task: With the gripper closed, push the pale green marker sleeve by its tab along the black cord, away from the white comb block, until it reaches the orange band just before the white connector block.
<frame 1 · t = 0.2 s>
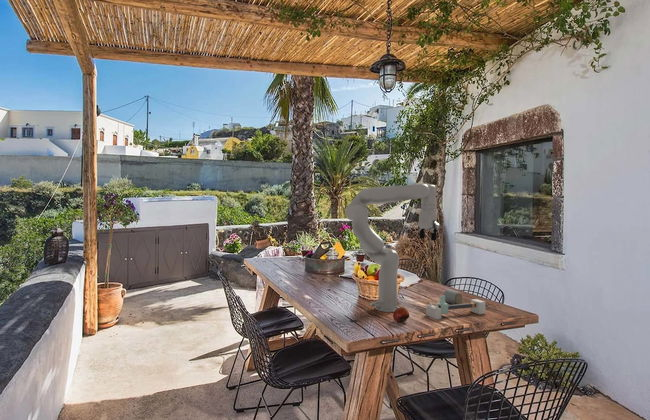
hand: (427, 239, 210), 36 cm above the table, tool pointing down, fingers open, 9 cm apart
marker sleeve: (442, 304, 192), point 6 cm above the table, slide at 0.0 cm
pomegranate: (401, 323, 181), on the table
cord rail: (457, 314, 196), on the table
ceramic mug: (453, 303, 218), on the table
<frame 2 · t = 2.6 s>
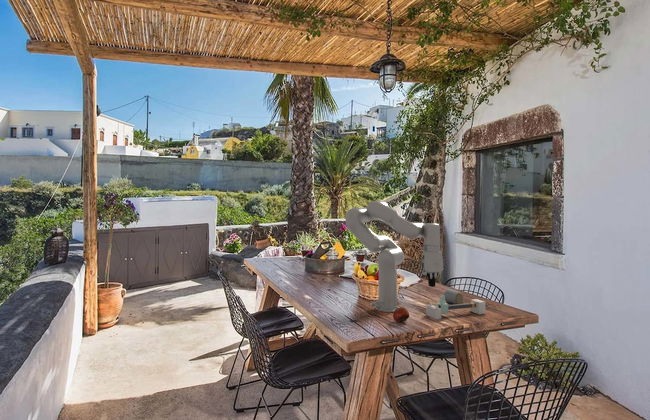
hand: (431, 286, 189), 15 cm above the table, tool pointing down, fingers closed
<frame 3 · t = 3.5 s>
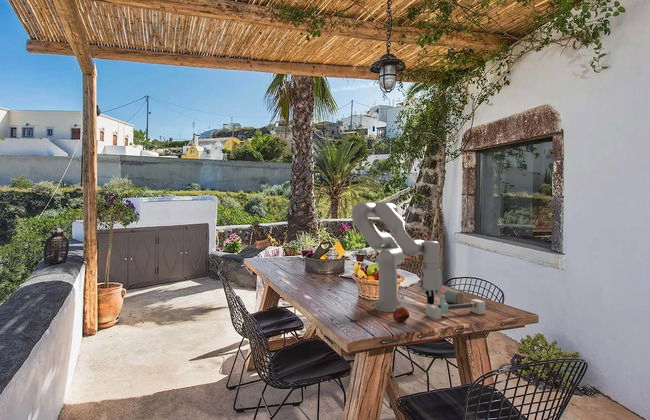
hand: (430, 303, 190), 7 cm above the table, tool pointing down, fingers closed
nothing on the table moved.
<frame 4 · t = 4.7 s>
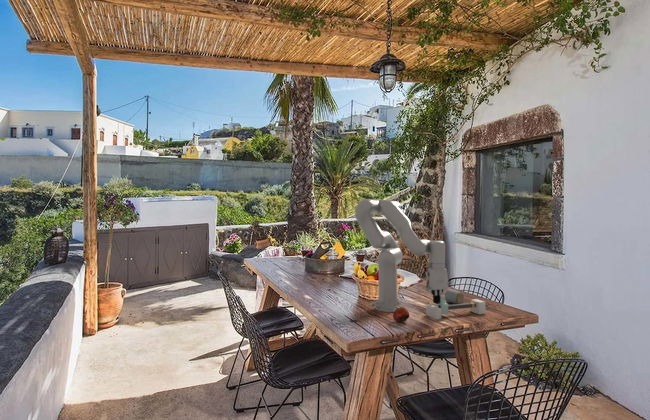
hand: (436, 303, 191), 7 cm above the table, tool pointing down, fingers closed
marker sleeve: (442, 304, 192), point 6 cm above the table, slide at 0.0 cm, touching gripper
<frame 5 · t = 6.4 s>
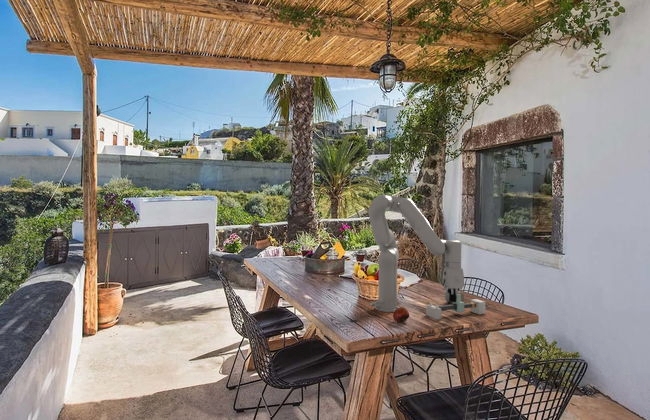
hand: (452, 301, 194), 7 cm above the table, tool pointing down, fingers closed
marker sleeve: (458, 302, 196), point 6 cm above the table, slide at 9.6 cm, touching gripper
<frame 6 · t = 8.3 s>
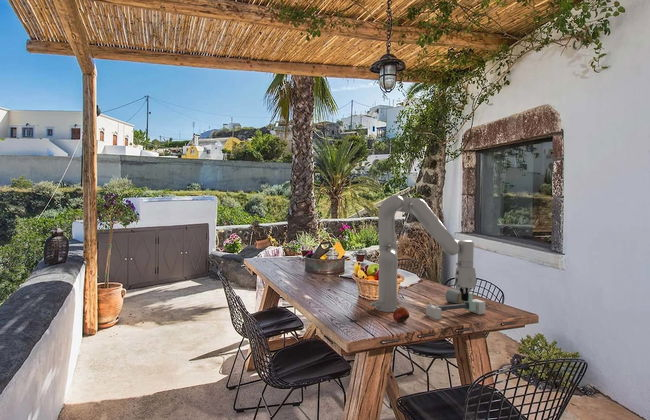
hand: (464, 300, 197), 7 cm above the table, tool pointing down, fingers closed
marker sleeve: (470, 301, 198), point 6 cm above the table, slide at 17.0 cm, touching gripper
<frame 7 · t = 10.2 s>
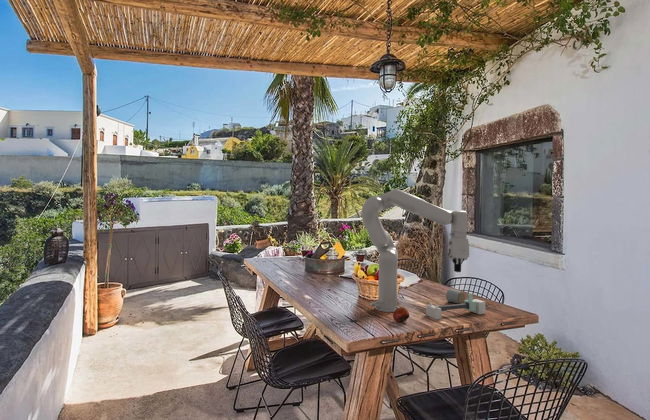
hand: (457, 271, 195), 22 cm above the table, tool pointing down, fingers closed
marker sleeve: (470, 301, 198), point 6 cm above the table, slide at 17.1 cm
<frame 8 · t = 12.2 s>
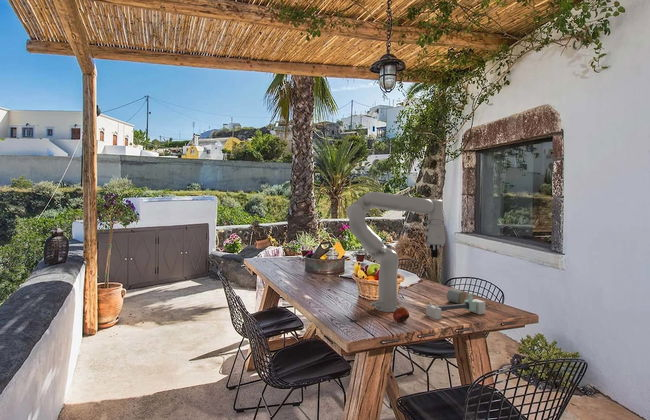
hand: (434, 257, 207), 27 cm above the table, tool pointing down, fingers closed
at the end: marker sleeve slide at 17.1 cm; the gripper is holding nothing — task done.
